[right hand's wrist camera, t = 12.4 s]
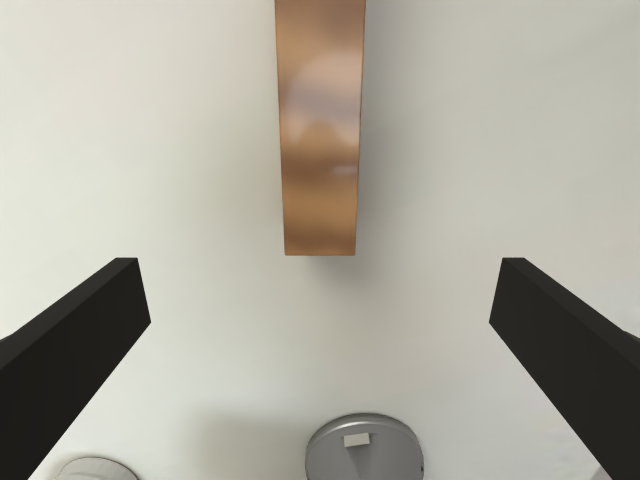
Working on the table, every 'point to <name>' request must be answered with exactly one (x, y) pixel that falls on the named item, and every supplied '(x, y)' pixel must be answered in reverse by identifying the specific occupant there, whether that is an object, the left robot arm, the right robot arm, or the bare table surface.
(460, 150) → the table surface
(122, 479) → the flag stand
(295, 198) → the post
